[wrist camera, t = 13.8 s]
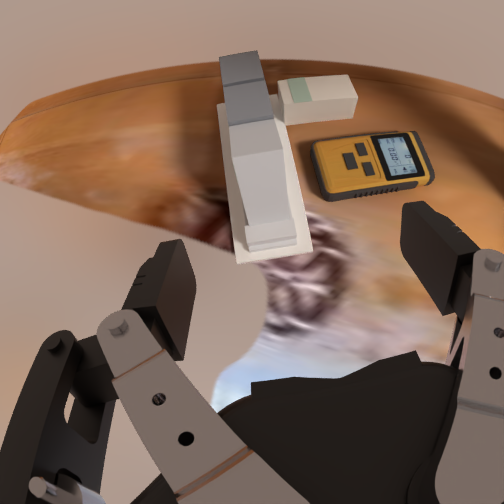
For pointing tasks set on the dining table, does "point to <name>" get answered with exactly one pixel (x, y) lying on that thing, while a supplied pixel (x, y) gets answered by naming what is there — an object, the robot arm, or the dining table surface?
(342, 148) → the electronic device
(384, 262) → the dining table surface
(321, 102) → the block
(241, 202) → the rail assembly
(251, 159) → the block
